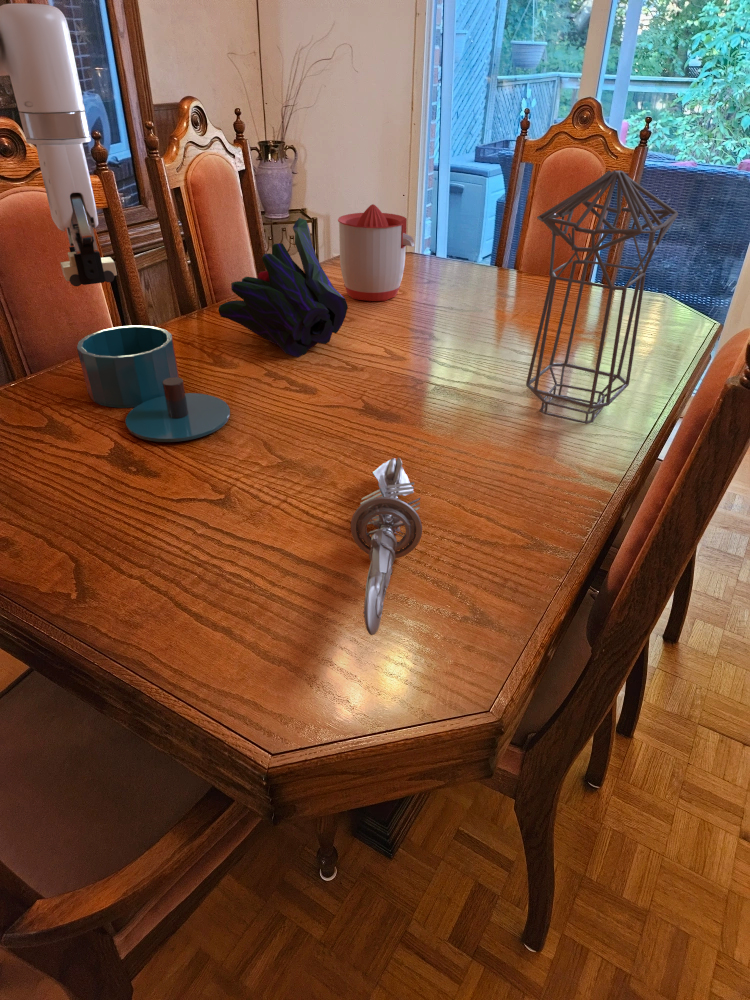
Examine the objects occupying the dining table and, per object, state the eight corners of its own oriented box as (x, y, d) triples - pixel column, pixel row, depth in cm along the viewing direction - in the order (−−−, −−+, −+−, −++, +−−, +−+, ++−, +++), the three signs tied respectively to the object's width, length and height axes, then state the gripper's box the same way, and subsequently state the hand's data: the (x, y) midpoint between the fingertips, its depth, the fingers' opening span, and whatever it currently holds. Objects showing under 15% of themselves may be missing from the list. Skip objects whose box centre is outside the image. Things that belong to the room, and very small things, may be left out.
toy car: (68, 287, 90) (60, 258, 88) (64, 281, 92) (57, 252, 90) (118, 281, 92) (112, 253, 90) (113, 275, 95) (108, 247, 93)
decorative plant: (280, 404, 129) (216, 322, 144) (389, 334, 133) (315, 261, 148) (242, 328, 112) (173, 244, 127) (368, 250, 115) (287, 177, 130)
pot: (85, 412, 105) (72, 361, 100) (93, 376, 117) (82, 329, 112) (180, 402, 108) (172, 353, 103) (179, 368, 120) (171, 322, 115)
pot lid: (124, 451, 95) (114, 409, 91) (129, 405, 107) (120, 366, 104) (234, 439, 98) (229, 397, 94) (227, 395, 111) (222, 357, 107)
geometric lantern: (634, 406, 109) (693, 169, 89) (602, 444, 98) (661, 184, 78) (543, 383, 116) (579, 159, 96) (504, 416, 105) (536, 172, 86)
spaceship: (311, 607, 57) (397, 584, 55) (357, 446, 88) (414, 428, 86) (346, 674, 60) (428, 655, 58) (379, 497, 91) (433, 480, 89)
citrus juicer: (407, 307, 150) (411, 213, 139) (332, 302, 152) (330, 209, 141) (416, 288, 163) (420, 199, 152) (347, 283, 165) (345, 196, 154)
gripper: (17, 124, 87) (54, 268, 97) (30, 136, 74) (70, 299, 85) (78, 122, 90) (108, 262, 100) (99, 133, 77) (131, 291, 88)
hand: (90, 278), depth 92 cm, fingers closed on toy car, 3 cm apart
